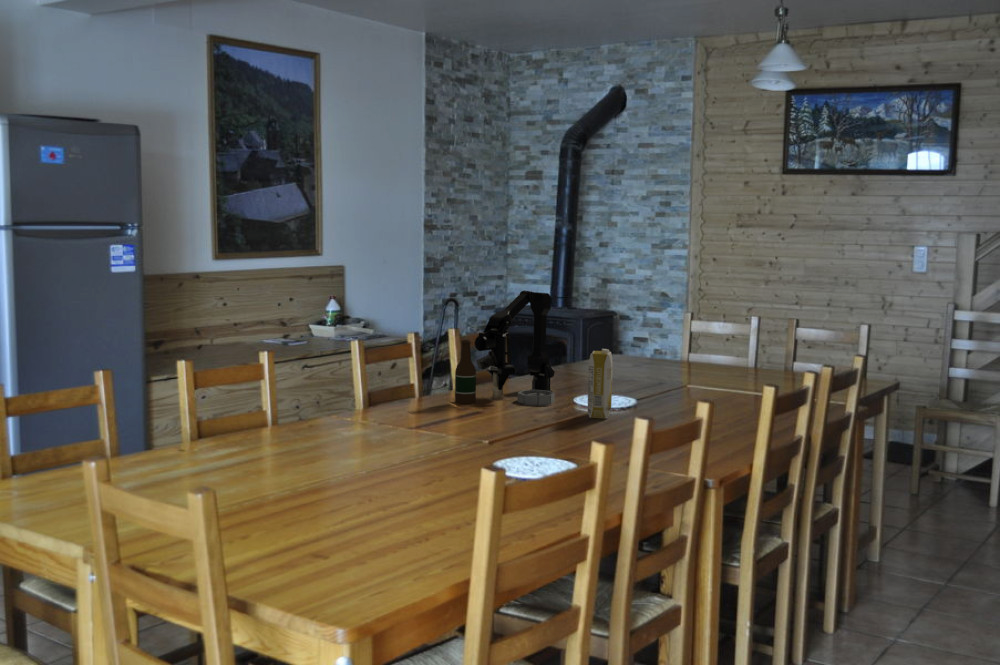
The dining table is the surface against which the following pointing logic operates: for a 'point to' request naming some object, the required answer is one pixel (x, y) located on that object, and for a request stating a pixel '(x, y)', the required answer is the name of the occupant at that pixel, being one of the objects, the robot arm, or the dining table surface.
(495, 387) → the square wooden post
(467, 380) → the beer bottle
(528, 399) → the bowl
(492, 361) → the robot arm
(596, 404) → the juice carton
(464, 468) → the dining table surface
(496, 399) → the coaster
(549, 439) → the dining table surface
